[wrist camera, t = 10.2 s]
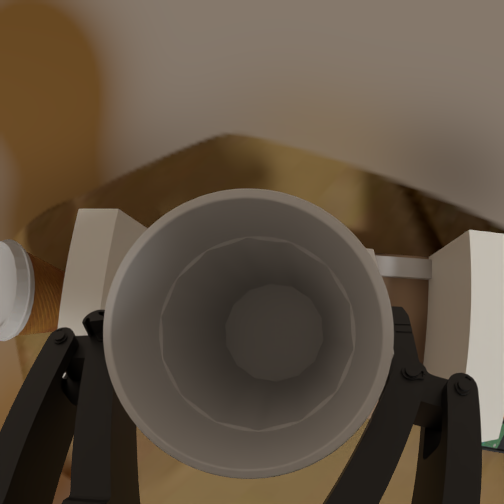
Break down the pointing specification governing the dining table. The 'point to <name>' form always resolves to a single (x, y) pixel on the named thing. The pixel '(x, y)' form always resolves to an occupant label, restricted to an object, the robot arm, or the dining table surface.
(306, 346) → the cup
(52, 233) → the dining table surface
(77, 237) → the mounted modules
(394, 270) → the board
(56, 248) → the dining table surface
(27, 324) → the disposable coffee cup
